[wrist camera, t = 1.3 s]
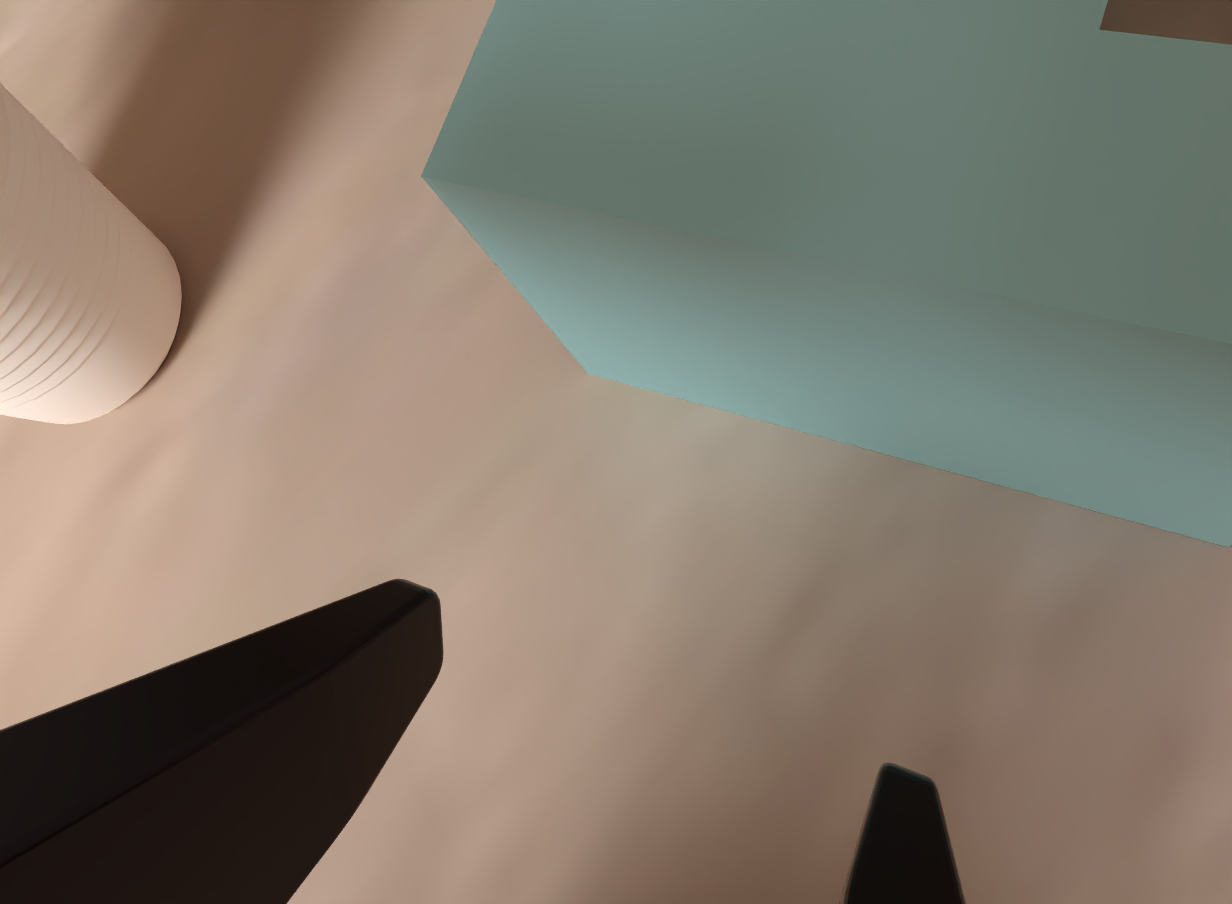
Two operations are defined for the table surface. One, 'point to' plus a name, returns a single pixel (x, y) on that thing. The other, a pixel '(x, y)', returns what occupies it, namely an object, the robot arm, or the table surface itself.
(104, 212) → the cup
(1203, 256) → the t block
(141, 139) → the table surface
